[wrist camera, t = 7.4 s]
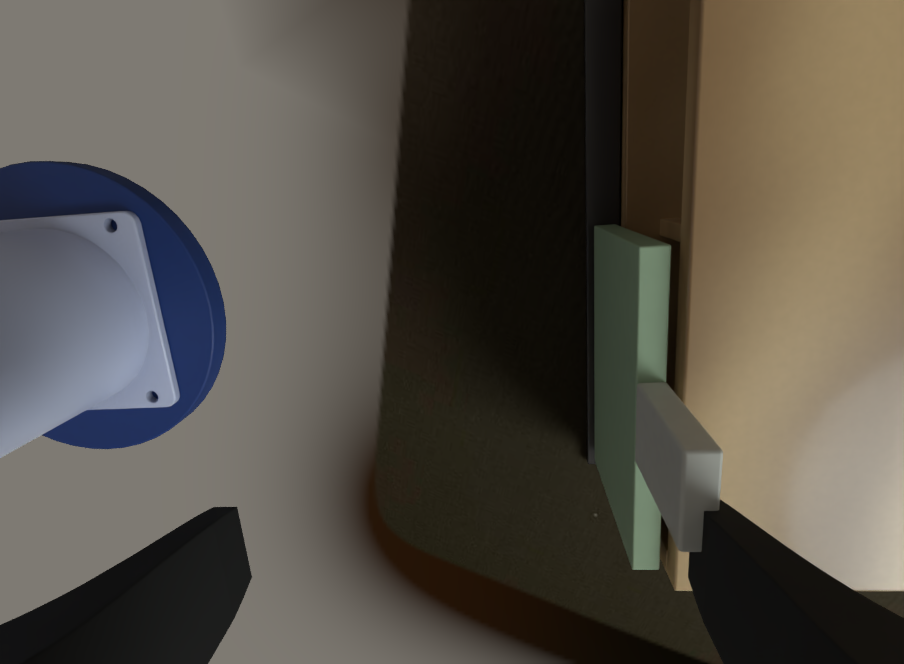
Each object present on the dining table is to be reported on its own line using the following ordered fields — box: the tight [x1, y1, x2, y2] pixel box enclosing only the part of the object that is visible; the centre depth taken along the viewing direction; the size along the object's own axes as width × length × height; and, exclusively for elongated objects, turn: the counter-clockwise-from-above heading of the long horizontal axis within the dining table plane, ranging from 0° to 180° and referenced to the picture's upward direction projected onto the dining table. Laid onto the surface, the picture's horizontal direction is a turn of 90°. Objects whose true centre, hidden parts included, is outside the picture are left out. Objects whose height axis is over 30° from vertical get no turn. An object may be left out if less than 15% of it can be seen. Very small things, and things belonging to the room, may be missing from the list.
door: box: [594, 224, 723, 570], centre depth 16 cm, size 1×10×10 cm, turn 4°
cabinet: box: [584, 0, 904, 591], centre depth 16 cm, size 13×20×8 cm, turn 4°
